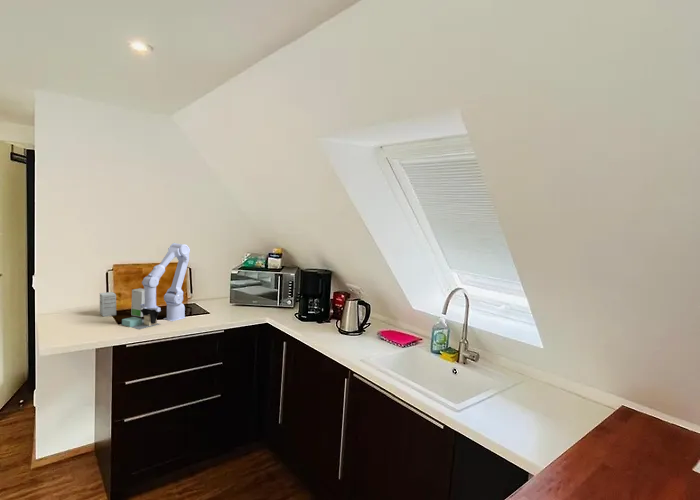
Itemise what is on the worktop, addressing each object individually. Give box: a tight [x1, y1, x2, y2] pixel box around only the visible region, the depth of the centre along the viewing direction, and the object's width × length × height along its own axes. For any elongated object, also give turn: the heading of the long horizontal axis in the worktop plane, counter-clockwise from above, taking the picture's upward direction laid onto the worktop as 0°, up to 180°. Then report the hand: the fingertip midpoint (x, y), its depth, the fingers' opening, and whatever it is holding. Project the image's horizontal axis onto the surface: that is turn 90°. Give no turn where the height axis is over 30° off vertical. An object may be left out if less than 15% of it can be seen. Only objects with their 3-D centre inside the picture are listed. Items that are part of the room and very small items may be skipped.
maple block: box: [143, 314, 158, 326], centre depth 232 cm, size 4×4×5 cm
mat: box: [120, 318, 161, 330], centre depth 231 cm, size 13×16×1 cm
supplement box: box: [99, 291, 117, 317], centre depth 248 cm, size 7×7×13 cm
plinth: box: [121, 316, 143, 328], centre depth 230 cm, size 7×7×3 cm
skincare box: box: [130, 287, 145, 318], centre depth 249 cm, size 8×7×16 cm
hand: (150, 322), depth 232 cm, fingers closed on maple block, 4 cm apart
